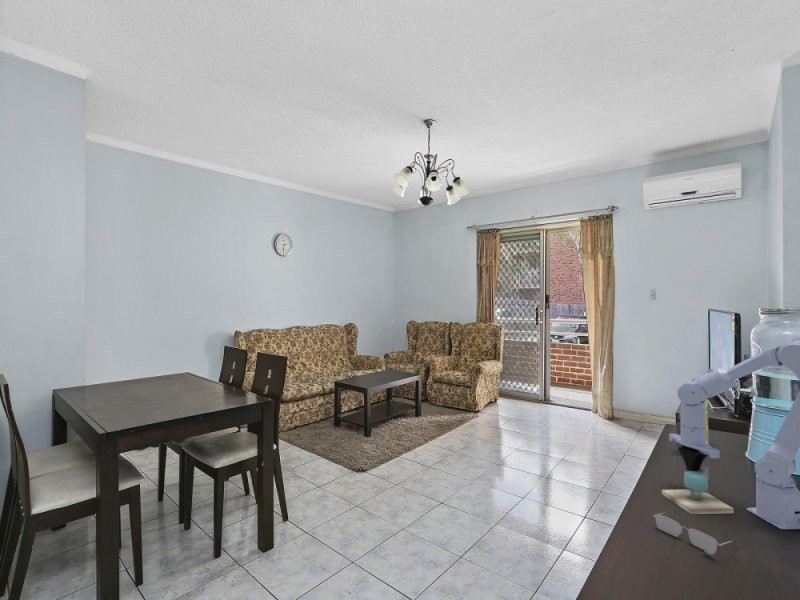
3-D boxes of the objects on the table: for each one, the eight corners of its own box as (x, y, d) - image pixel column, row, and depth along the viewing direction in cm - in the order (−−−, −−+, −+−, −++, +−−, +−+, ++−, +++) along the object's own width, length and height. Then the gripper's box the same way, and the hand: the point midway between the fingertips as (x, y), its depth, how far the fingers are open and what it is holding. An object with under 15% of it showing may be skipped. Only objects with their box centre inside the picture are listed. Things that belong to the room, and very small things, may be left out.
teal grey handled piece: (704, 493, 106) (704, 480, 107) (681, 486, 110) (681, 474, 110) (717, 480, 114) (717, 468, 114) (695, 474, 118) (695, 463, 118)
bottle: (679, 457, 143) (679, 413, 143) (674, 451, 149) (673, 409, 149) (699, 458, 141) (699, 414, 141) (693, 452, 147) (692, 410, 147)
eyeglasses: (652, 528, 99) (652, 511, 99) (672, 519, 103) (671, 503, 103) (720, 559, 87) (720, 540, 87) (739, 548, 90) (739, 530, 90)
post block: (733, 513, 105) (733, 496, 105) (691, 514, 104) (691, 497, 104) (700, 493, 116) (700, 478, 116) (661, 494, 115) (661, 479, 115)
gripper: (729, 433, 110) (729, 485, 109) (684, 418, 124) (684, 464, 124) (706, 434, 108) (706, 487, 108) (662, 419, 123) (662, 465, 123)
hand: (692, 474), depth 116 cm, fingers closed
